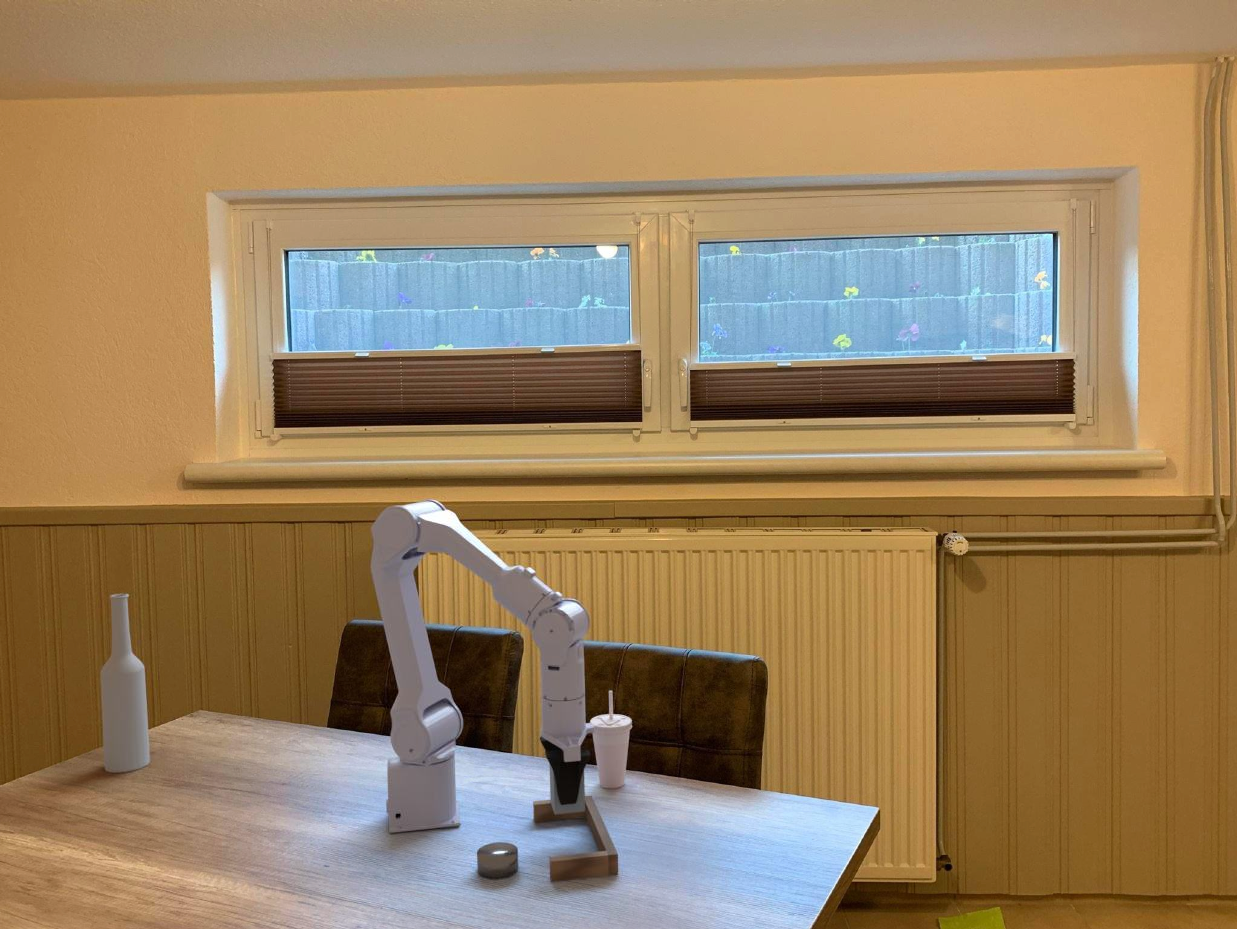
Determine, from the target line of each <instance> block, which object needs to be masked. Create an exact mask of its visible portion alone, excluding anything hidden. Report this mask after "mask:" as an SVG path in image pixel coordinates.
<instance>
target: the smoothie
mask: <svg viewBox="0 0 1237 929" xmlns="http://www.w3.org/2000/svg"><path fill="white" fill-rule="evenodd" d="M613 700H614V697H613V690H608V707H609V708H608V710H609V711H608V713H607V714H600V715H596V716H594V717H592V718H591V719H590V721H589V723H592V724H593V725H594V726H595V732H593V733H592V739H593V745H594V753H595V758H596V759H595V761H596V765H597V773H598V781H599V785H600V787H603V788H604V789H605V788H606V789H617V788H621V787H623V786H624V785H625V779H626V772H627V771H626V769H627V760H628V749H629V740H630V731H631V729H632V728H633V725H632V724H633V722H632V721H633V720H632V718H631V717H629V716H628V715H627V716H626V715H623V714H618V713H617V714H615V713H614V701H613Z"/></svg>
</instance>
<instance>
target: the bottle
mask: <svg viewBox="0 0 1237 929" xmlns="http://www.w3.org/2000/svg"><path fill="white" fill-rule="evenodd" d="M129 597H130V595H129V594H128V593H116V594H110V596H109V599H110V610H111V611H110V613H111V655H110V657H109V658H108V660H107V661H106V662H105V664H104V665H102V668H101V669H100V692H101V713H102V714H101V718H102V719H101V720H102V740H103V741H102V744H103V761H104V762H103V763H104V771H105V772H107V773H109V774H112V773H114V774H120V773H121V774H125V773H129V772H133V771H138V770H140V769H143V768H146V767H147V766H148V765H149V764H150V763H151V761H150V760H151V759H150V757H151V756H150V755H151V754H150V738H149V723H148V722H149V721H148V720H149V718H148V704H147V702H148V700H147V689H146V688H147V686H146V670H145V665H144V664H143V662H142V661H141V660H140V659H139V658H138V657H137V656H136V655H135V654H134V653H133V650H132V643H131V635H130V621H129V620H130V619H129V607H128V606H129V605H128V604H129V603H128V598H129Z"/></svg>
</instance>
